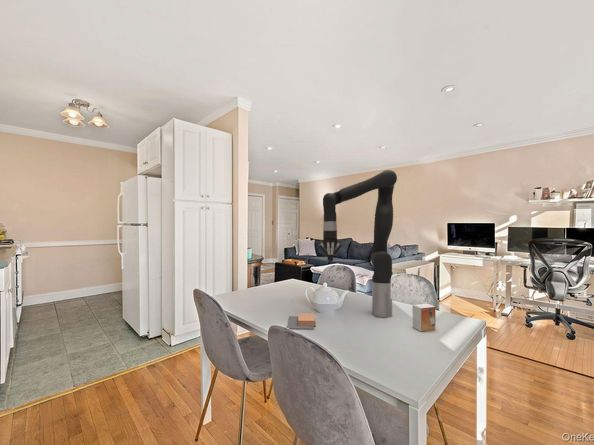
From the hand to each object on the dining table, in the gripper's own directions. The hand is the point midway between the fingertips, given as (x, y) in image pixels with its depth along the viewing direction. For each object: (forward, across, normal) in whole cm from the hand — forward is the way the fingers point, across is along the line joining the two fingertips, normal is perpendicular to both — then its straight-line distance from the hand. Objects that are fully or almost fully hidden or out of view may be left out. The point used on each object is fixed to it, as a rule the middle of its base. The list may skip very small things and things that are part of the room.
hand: (330, 261), depth 146 cm
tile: (+25, +9, +18) cm, 32 cm away
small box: (+27, -40, +24) cm, 54 cm away
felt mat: (+27, +16, +18) cm, 36 cm away
